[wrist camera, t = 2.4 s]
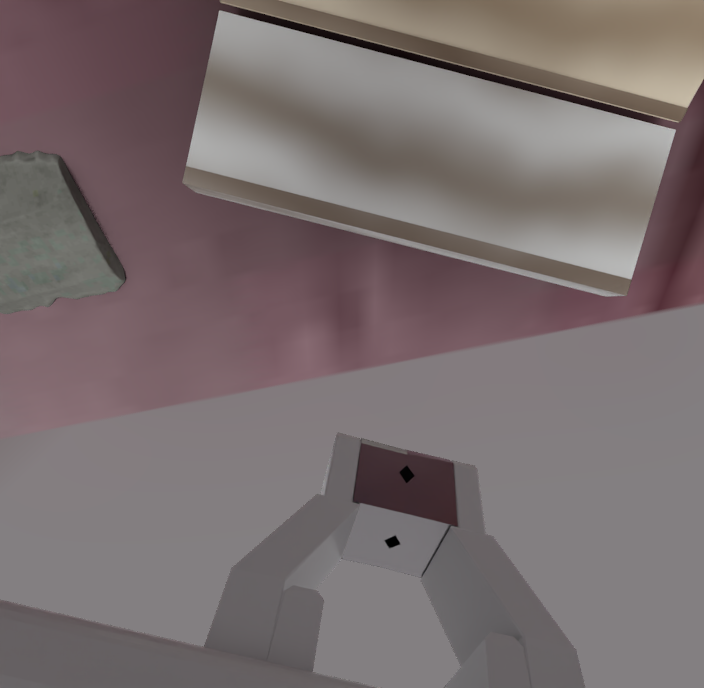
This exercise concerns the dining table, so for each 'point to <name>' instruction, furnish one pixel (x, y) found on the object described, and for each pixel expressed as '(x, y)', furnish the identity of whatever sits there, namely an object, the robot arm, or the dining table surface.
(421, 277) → the dining table surface
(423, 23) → the thin beige board
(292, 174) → the board
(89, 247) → the stone slab
